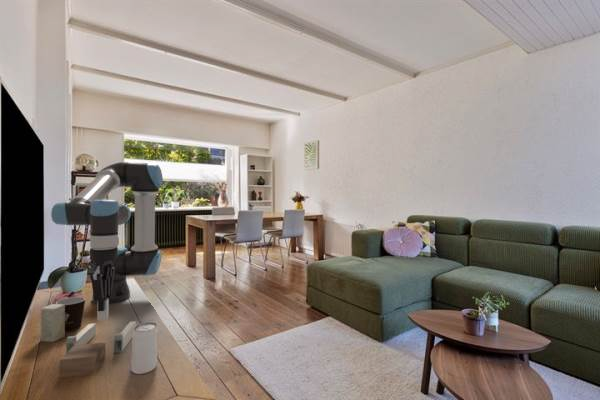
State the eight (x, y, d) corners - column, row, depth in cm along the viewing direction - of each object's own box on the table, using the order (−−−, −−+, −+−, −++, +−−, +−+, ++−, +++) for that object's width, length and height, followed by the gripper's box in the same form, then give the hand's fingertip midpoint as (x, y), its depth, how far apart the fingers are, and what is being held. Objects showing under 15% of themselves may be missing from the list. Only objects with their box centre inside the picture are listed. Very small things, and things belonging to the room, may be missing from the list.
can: (129, 377, 79) (131, 333, 79) (132, 364, 85) (134, 323, 85) (156, 372, 82) (157, 329, 82) (157, 360, 88) (158, 320, 88)
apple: (85, 310, 123) (86, 286, 123) (79, 318, 115) (80, 293, 115) (57, 313, 119) (58, 289, 119) (49, 321, 111) (50, 295, 111)
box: (65, 336, 100) (66, 304, 100) (53, 342, 96) (54, 309, 96) (51, 335, 101) (52, 303, 101) (38, 341, 97) (40, 307, 97)
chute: (88, 335, 102) (89, 319, 102) (135, 332, 105) (136, 316, 105) (66, 356, 88) (66, 338, 88) (121, 352, 91) (121, 334, 91)
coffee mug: (90, 325, 110) (91, 298, 109) (65, 335, 101) (66, 306, 101) (69, 320, 113) (69, 294, 113) (43, 329, 105) (44, 301, 105)
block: (74, 361, 86) (74, 344, 86) (105, 359, 88) (105, 342, 88) (59, 378, 78) (59, 359, 78) (93, 374, 80) (93, 356, 80)
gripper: (100, 243, 100) (99, 311, 101) (80, 251, 87) (79, 329, 88) (124, 243, 101) (123, 310, 102) (108, 251, 89) (107, 327, 90)
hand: (102, 319), depth 95 cm, fingers closed
